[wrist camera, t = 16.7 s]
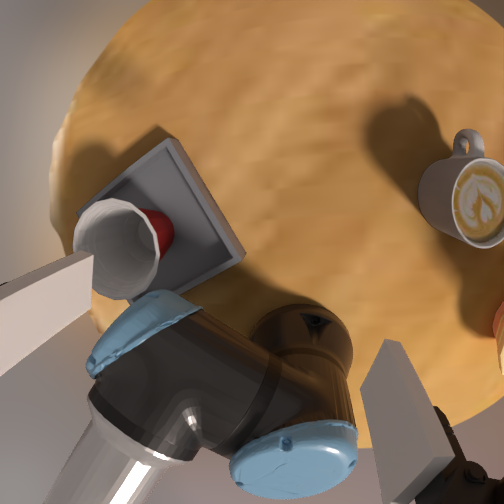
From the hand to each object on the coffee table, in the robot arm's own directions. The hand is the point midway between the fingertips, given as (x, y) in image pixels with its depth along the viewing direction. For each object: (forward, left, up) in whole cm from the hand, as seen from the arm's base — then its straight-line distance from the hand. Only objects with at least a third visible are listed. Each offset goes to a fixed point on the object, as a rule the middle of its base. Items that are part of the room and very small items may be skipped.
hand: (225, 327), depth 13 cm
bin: (+7, +14, -29) cm, 33 cm away
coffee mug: (-7, -24, -29) cm, 38 cm away
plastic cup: (+7, +14, -28) cm, 32 cm away
